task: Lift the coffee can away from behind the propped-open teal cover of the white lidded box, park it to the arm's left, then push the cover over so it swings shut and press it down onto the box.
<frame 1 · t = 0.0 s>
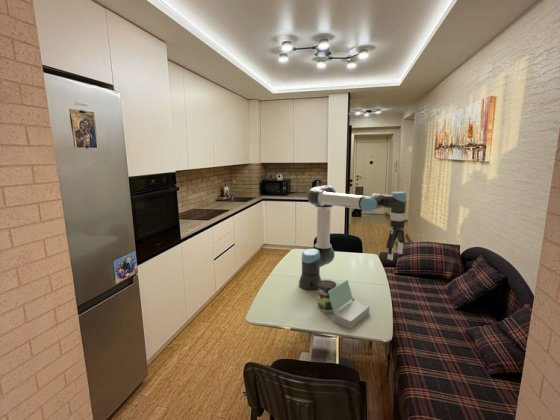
hand: (395, 256, 172), 28 cm above the table, fingers open, 13 cm apart
white lidded box: (351, 317, 161), on the table
cover: (340, 295, 164), point 10 cm above the table, hinge at 110.0°
coffee can: (326, 307, 172), on the table
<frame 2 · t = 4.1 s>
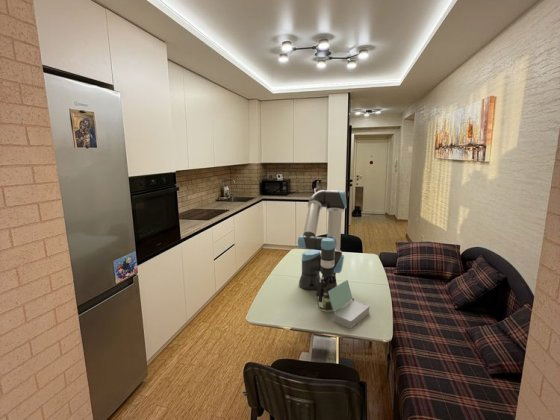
hand: (326, 303, 171), 2 cm above the table, fingers closed on coffee can, 10 cm apart
coffee can: (326, 307, 172), on the table, touching gripper
everything else where it was.
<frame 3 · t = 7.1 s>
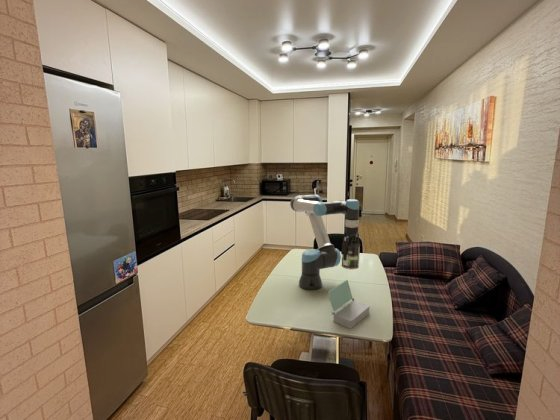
hand: (350, 262, 180), 22 cm above the table, fingers closed on coffee can, 10 cm apart
coffee can: (350, 266, 181), point 19 cm above the table, touching gripper
everything else where it was.
when the fingers open (4 cm above the table, at t = 10.5 s): coffee can drops 1 cm, on the table.
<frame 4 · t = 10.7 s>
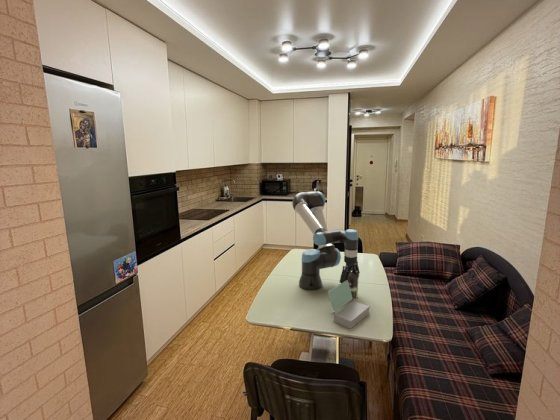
hand: (349, 289, 184), 5 cm above the table, fingers open, 12 cm apart
coffee can: (349, 296, 184), on the table
everything else where it was.
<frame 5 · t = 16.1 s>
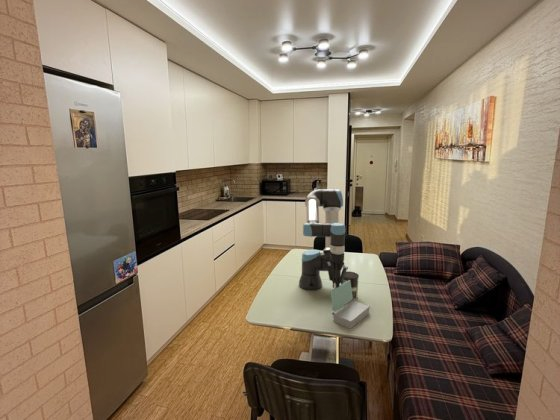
hand: (335, 293, 166), 10 cm above the table, fingers closed
cover: (341, 295, 164), point 10 cm above the table, hinge at 101.3°, touching gripper
everything else where it was.
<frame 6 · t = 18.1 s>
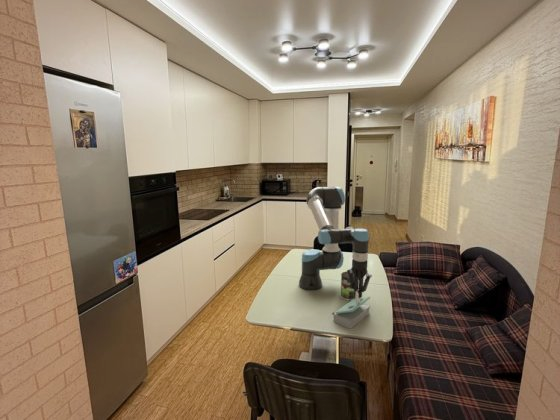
hand: (357, 302, 157), 10 cm above the table, fingers closed
cover: (352, 304, 160), point 7 cm above the table, hinge at 26.0°
everything else where it was.
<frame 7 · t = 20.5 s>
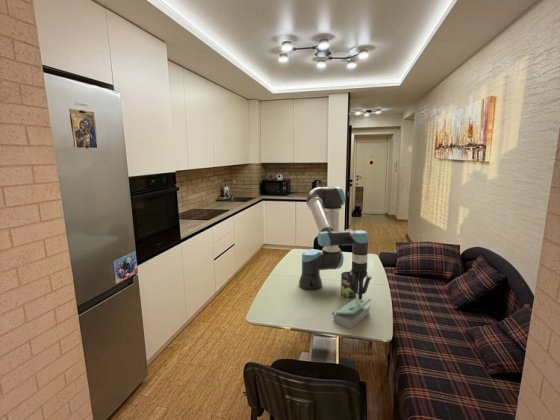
hand: (357, 304, 157), 8 cm above the table, fingers closed
cover: (353, 305, 160), point 7 cm above the table, hinge at 20.0°, touching gripper
everything else where it was.
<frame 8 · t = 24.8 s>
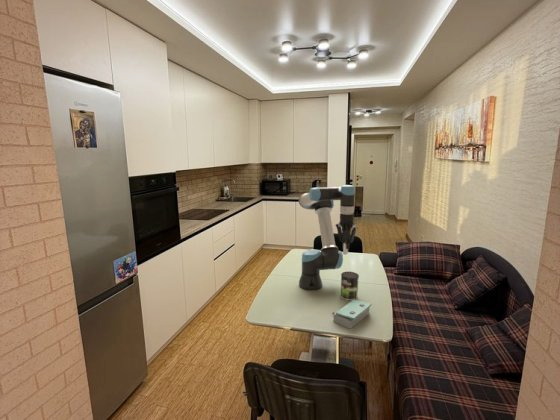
hand: (345, 253, 172), 29 cm above the table, fingers closed
cover: (353, 308, 160), point 5 cm above the table, hinge at 6.0°
everything else where it was.
at the end: cover at +6° (first picture: +110°); coffee can inside the target area (0.1 cm from its centre), on the table; coffee can tilted 0° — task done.
